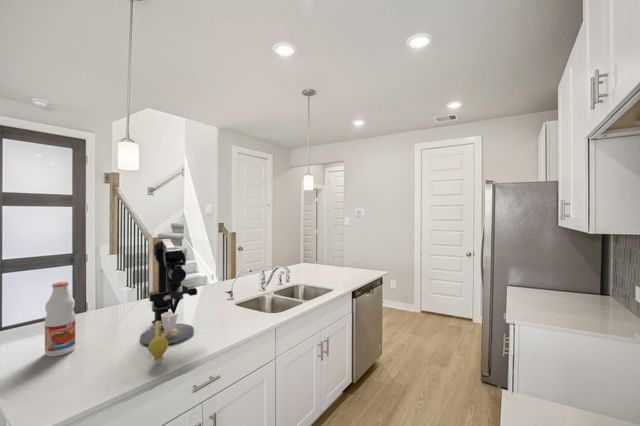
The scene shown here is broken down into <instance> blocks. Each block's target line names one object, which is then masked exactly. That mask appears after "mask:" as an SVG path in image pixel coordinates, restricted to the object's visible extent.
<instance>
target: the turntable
mask: <svg viewBox="0 0 640 426" xmlns="http://www.w3.org/2000/svg"><path fill="white" fill-rule="evenodd" d="M174 329H175V330H174V331H173V332H171V333H165V332H164V331H165V330H164V328H163V325H162V324H161V321H156V322H155V323H154V327H152V328H149V329H147V330H146V331H144V332H143V333H142V334H140V336H139V341H140V343H141V344H142V345H146V346H149V343H150V342H151V340H152V339H154V338H156V337H159V336H161V337H164V338H166V339H167V341H168V345H173V344H176V343H181V342H182V341H185V340H187V339H189V338H190V337H192V336H193V334H194V333H195V328H194V327H193V326H192V325H190V324H189V323H188V324H187V323H176V325H175V328H174Z"/></svg>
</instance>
